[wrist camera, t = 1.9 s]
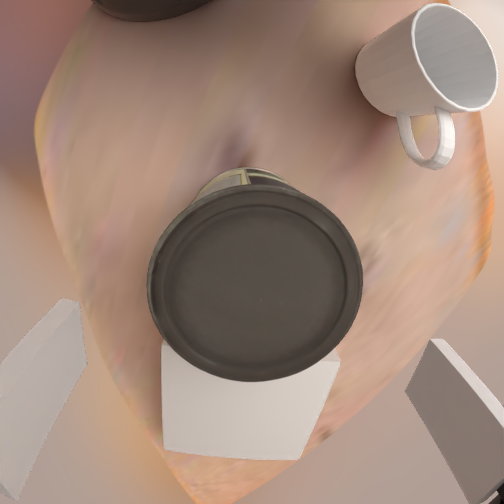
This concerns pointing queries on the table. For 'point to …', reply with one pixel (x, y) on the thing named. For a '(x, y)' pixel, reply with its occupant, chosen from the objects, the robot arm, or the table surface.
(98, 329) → the table surface
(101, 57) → the table surface
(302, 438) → the base
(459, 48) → the mug
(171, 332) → the coffee can
